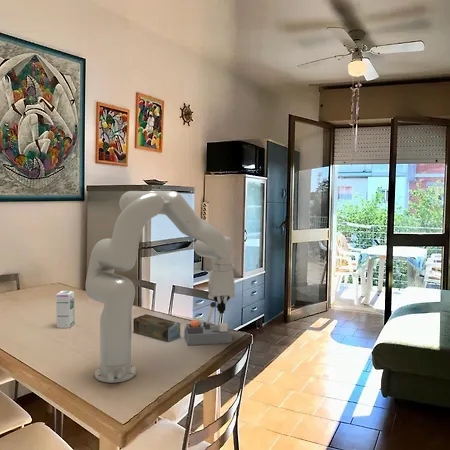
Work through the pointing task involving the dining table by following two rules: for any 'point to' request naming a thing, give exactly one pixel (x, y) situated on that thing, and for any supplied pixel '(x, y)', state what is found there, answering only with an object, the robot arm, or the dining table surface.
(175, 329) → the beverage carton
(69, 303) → the syrup box
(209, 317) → the lever
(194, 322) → the button
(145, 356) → the dining table surface
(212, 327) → the panel
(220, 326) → the slider
